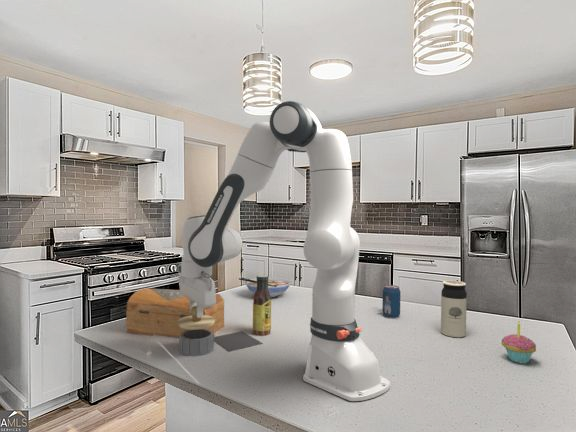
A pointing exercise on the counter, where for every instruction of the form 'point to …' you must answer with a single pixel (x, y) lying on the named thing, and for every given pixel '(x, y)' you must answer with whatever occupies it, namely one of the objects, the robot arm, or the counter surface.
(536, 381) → the counter surface
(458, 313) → the travel mug
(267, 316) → the sauce bottle
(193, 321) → the lid
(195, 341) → the bowl
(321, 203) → the robot arm
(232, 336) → the mat
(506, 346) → the cupcake
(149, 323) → the wooden box
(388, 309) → the soda can
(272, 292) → the ramen bowl
